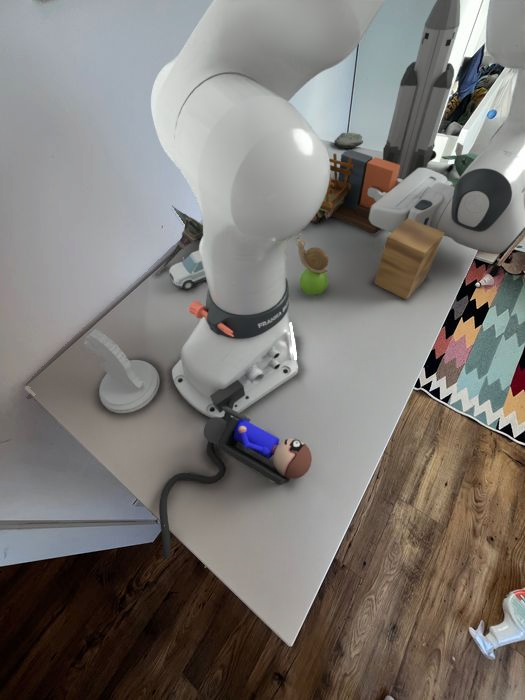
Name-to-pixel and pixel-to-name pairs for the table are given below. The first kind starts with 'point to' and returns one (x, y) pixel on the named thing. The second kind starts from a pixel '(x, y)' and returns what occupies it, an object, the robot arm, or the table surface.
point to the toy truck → (334, 190)
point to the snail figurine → (313, 269)
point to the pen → (448, 170)
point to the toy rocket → (424, 92)
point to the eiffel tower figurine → (187, 234)
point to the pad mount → (355, 193)
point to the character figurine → (259, 447)
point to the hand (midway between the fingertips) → (374, 185)
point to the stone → (348, 140)
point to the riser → (407, 257)
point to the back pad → (378, 179)
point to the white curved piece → (122, 376)
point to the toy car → (188, 271)
